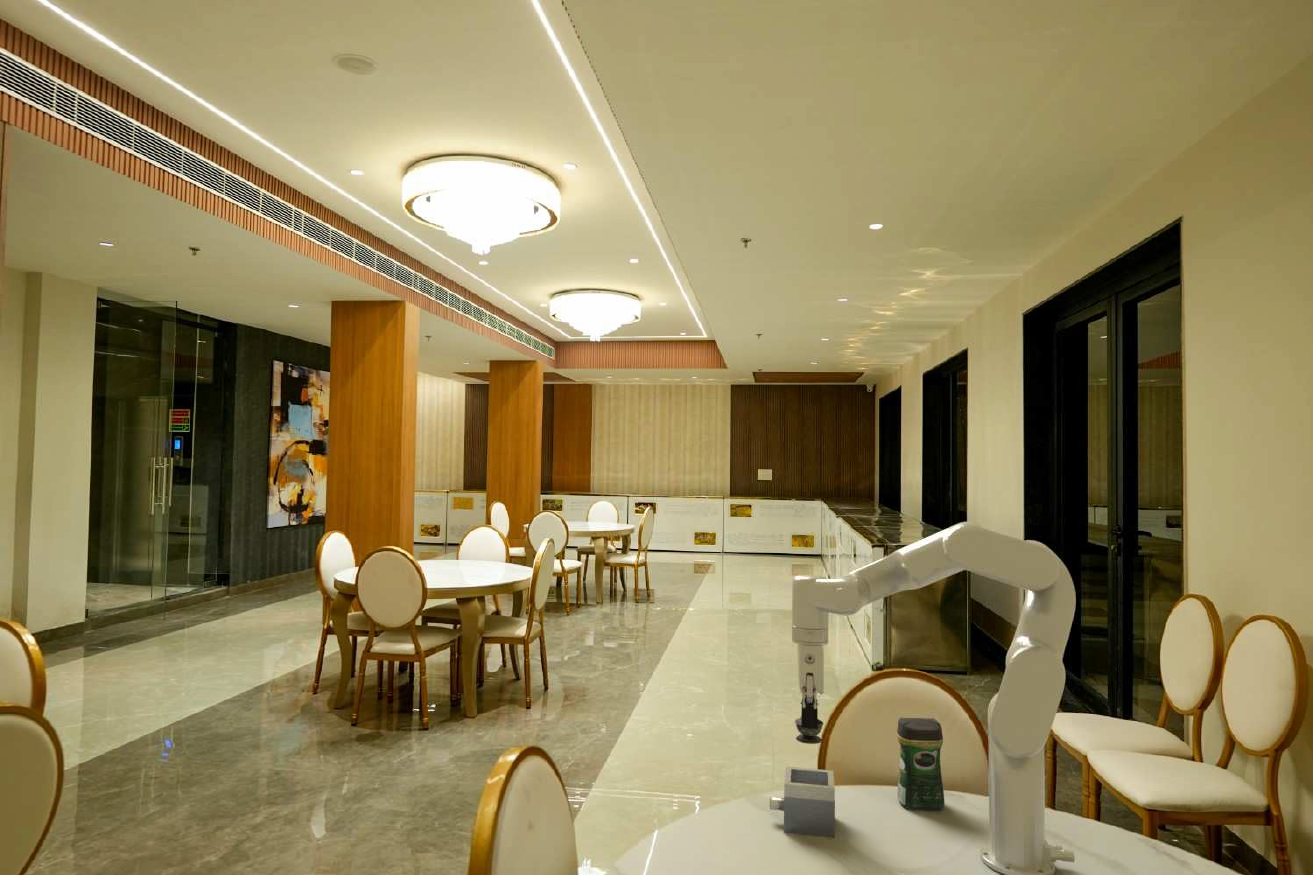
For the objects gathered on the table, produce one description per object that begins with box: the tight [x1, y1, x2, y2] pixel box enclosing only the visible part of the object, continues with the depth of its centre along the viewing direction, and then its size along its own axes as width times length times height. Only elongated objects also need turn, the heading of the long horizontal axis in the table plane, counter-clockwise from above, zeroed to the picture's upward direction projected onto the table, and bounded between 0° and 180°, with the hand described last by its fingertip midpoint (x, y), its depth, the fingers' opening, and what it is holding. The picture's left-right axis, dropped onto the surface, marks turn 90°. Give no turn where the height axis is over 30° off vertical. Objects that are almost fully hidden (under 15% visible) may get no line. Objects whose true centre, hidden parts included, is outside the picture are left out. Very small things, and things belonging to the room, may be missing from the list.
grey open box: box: [769, 766, 836, 839], centre depth 161 cm, size 13×12×10 cm
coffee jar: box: [896, 717, 945, 811], centre depth 171 cm, size 10×8×19 cm
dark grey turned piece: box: [794, 687, 824, 745], centre depth 160 cm, size 6×6×12 cm
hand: (809, 721), depth 160 cm, fingers closed on dark grey turned piece, 5 cm apart
